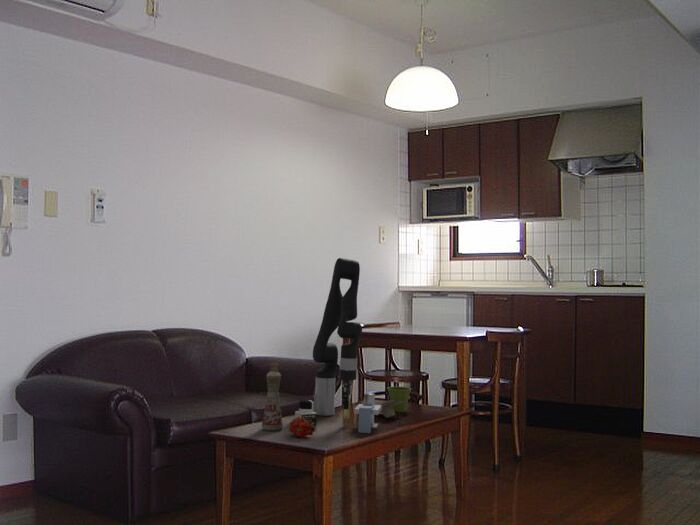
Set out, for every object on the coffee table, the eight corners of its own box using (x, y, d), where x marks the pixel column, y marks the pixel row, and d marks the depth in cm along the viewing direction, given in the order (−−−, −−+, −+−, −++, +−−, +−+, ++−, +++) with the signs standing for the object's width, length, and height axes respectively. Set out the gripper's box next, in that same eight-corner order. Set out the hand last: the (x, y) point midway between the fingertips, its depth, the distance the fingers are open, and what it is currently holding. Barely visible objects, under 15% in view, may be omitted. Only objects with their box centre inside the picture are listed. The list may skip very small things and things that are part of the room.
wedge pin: (342, 418, 347) (344, 387, 347) (343, 417, 350) (345, 387, 350) (348, 418, 347) (349, 388, 347) (349, 417, 349) (350, 387, 350)
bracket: (358, 432, 334) (359, 407, 334) (362, 427, 346) (362, 403, 346) (370, 433, 333) (371, 408, 334) (373, 428, 345) (374, 404, 346)
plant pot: (381, 411, 391) (382, 387, 391) (396, 408, 400) (396, 385, 400) (401, 414, 384) (401, 390, 384) (415, 411, 393) (416, 388, 393)
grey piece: (353, 430, 339) (354, 396, 339) (358, 424, 353) (359, 392, 353) (377, 431, 337) (378, 398, 337) (381, 425, 351) (382, 393, 352)
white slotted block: (370, 428, 366) (394, 409, 362) (360, 412, 370) (384, 393, 366) (386, 429, 380) (410, 410, 376) (377, 413, 384) (400, 395, 380)
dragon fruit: (288, 438, 326) (312, 446, 319) (280, 428, 320) (304, 437, 313) (298, 420, 330) (322, 428, 323) (290, 410, 323) (314, 418, 317)
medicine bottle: (301, 431, 334) (302, 402, 334) (294, 428, 340) (295, 399, 340) (316, 430, 337) (317, 401, 337) (309, 427, 343) (310, 398, 344)
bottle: (286, 428, 338) (288, 361, 338) (276, 432, 330) (278, 363, 330) (268, 426, 341) (270, 360, 342) (257, 430, 333) (259, 362, 334)
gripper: (342, 366, 356) (340, 405, 356) (336, 369, 342) (335, 410, 342) (359, 367, 355) (357, 406, 355) (354, 370, 341) (352, 411, 341)
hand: (346, 408), depth 348 cm, fingers closed on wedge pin, 2 cm apart
